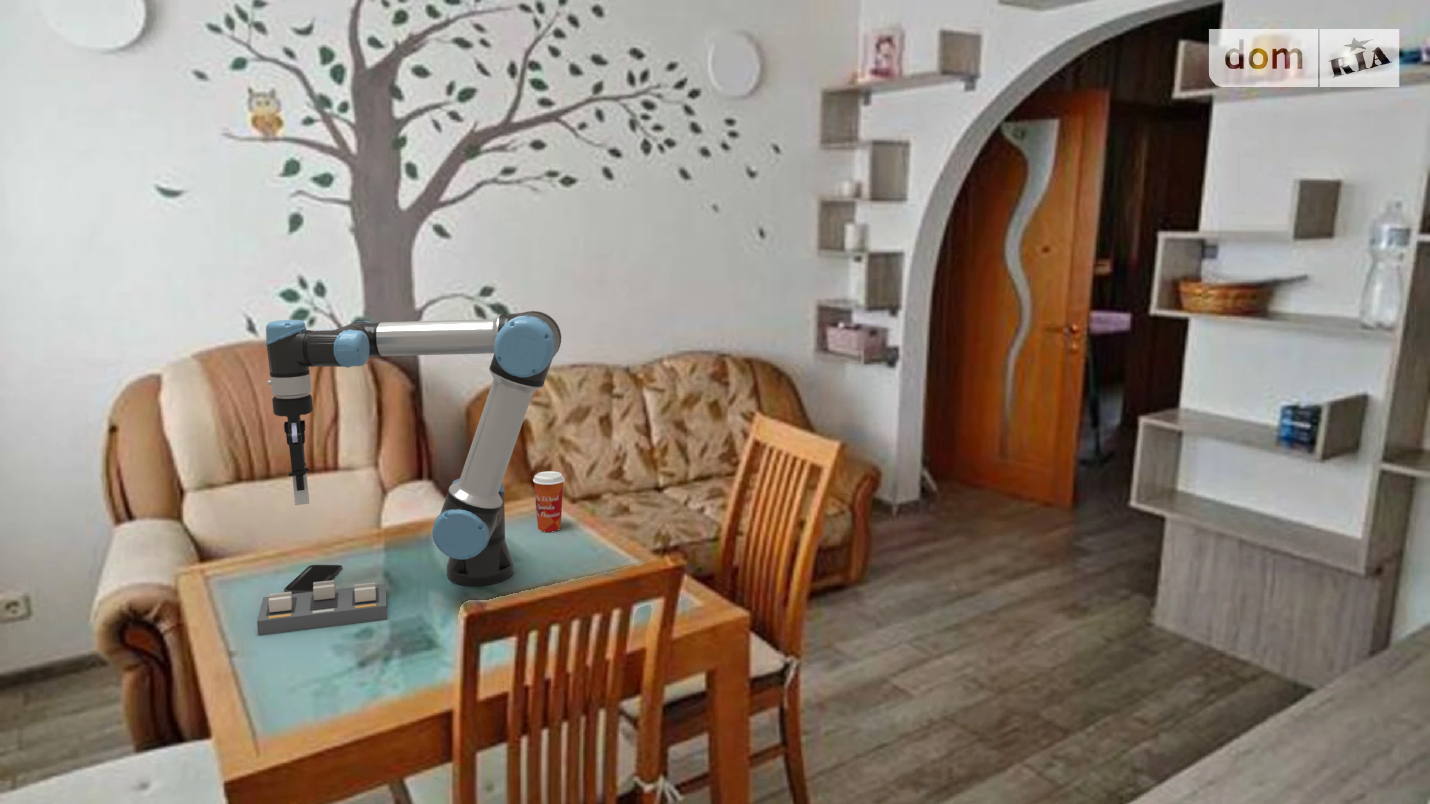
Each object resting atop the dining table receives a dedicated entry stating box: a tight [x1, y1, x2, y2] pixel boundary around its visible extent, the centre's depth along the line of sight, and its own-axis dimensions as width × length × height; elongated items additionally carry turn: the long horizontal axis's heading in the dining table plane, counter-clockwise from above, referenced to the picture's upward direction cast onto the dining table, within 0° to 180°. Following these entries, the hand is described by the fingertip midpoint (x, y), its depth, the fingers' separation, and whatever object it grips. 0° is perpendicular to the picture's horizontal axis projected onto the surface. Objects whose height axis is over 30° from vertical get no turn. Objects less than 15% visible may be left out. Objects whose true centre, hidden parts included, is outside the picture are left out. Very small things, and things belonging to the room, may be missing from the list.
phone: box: [283, 564, 343, 594], centre depth 206 cm, size 8×1×15 cm
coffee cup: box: [532, 470, 566, 533], centre depth 242 cm, size 8×8×15 cm
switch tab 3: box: [353, 581, 376, 603], centre depth 189 cm, size 4×3×3 cm
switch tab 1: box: [268, 591, 293, 612], centre depth 184 cm, size 4×3×3 cm
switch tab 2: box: [313, 579, 336, 600], centre depth 190 cm, size 4×3×3 cm
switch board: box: [256, 583, 388, 636], centre depth 189 cm, size 24×12×3 cm, turn 111°
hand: (302, 503), depth 193 cm, fingers closed
